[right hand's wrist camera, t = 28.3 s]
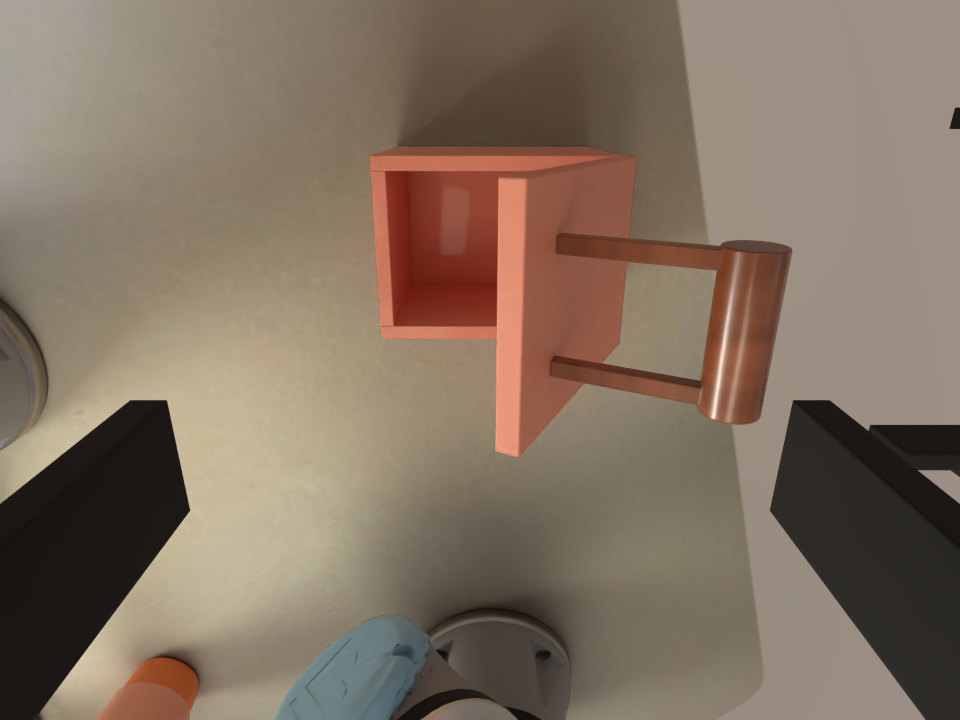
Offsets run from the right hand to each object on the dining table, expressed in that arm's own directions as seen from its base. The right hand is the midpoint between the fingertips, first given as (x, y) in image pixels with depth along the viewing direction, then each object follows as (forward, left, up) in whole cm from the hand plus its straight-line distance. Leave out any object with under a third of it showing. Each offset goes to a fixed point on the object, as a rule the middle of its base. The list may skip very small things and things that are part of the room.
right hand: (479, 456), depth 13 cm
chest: (0, -1, -32) cm, 32 cm away
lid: (+1, -4, -15) cm, 15 cm away
